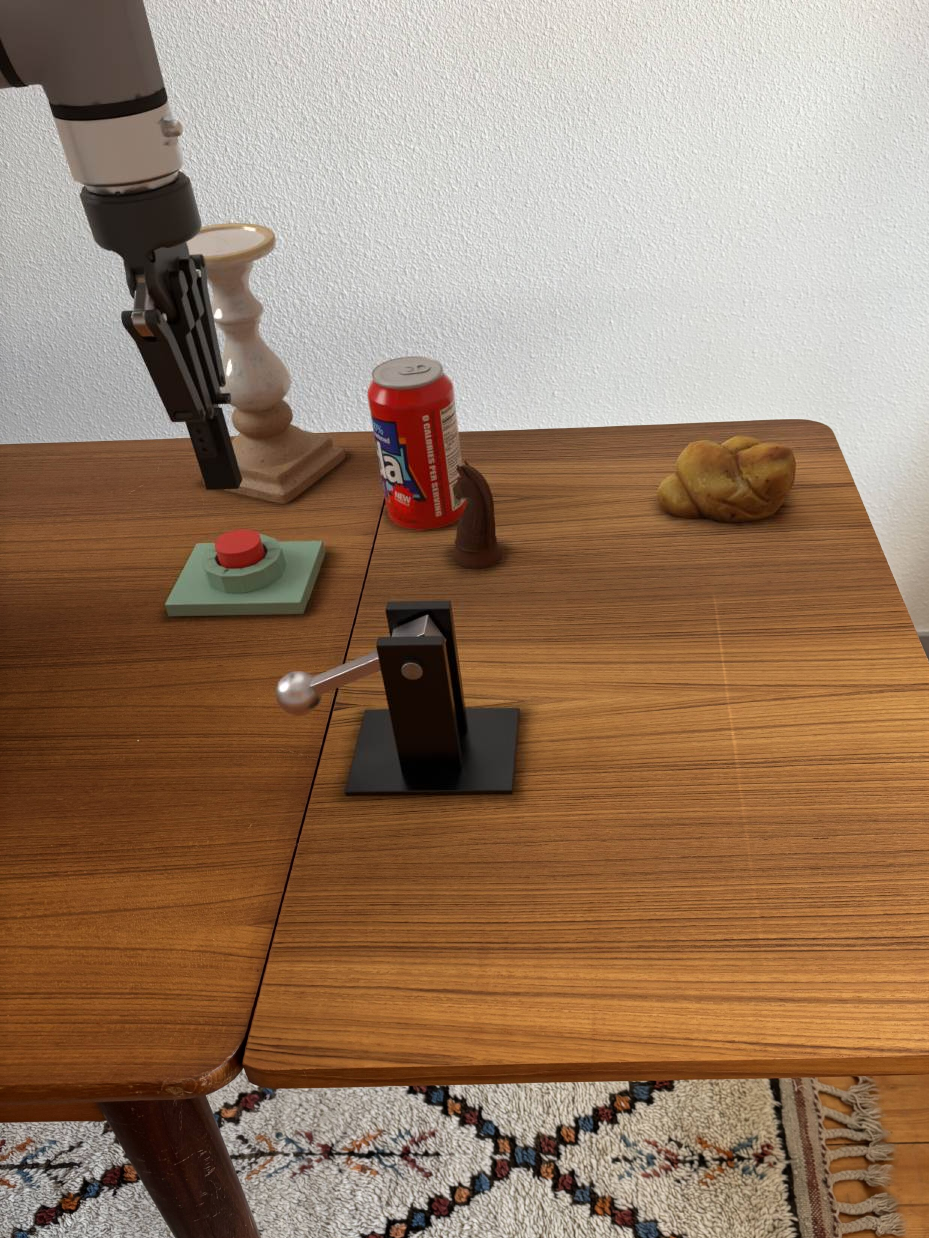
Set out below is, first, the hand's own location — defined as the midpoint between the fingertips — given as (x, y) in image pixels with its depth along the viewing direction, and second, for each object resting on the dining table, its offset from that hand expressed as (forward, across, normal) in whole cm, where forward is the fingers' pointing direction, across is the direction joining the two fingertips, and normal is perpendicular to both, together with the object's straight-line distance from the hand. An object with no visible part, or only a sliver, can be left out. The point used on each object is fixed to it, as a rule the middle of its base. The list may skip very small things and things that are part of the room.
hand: (224, 484), depth 89 cm
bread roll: (+12, +13, -44) cm, 47 cm away
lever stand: (+11, -23, -19) cm, 32 cm away
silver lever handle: (+4, -23, -15) cm, 28 cm away
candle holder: (+11, +21, +3) cm, 24 cm away
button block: (+11, 0, 0) cm, 11 cm away
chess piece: (+11, +4, -20) cm, 23 cm away
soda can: (+11, +12, -14) cm, 22 cm away
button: (+7, 0, 0) cm, 7 cm away
